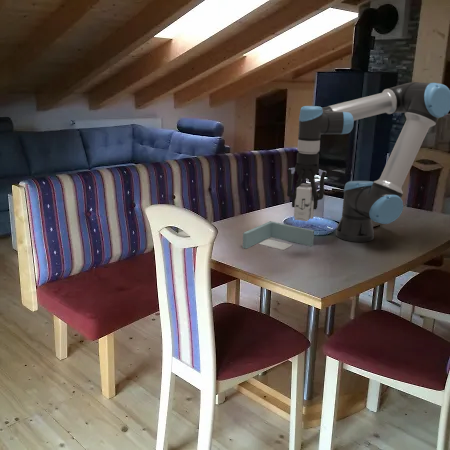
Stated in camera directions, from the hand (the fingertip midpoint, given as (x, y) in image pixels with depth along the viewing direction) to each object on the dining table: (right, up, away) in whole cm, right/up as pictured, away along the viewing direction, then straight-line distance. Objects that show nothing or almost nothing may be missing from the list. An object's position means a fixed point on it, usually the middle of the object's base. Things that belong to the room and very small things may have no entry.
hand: (303, 216), depth 181 cm
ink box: (0, 0, 0) cm, 1 cm away
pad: (-9, -11, +15) cm, 20 cm away
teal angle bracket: (-8, -11, +13) cm, 19 cm away
